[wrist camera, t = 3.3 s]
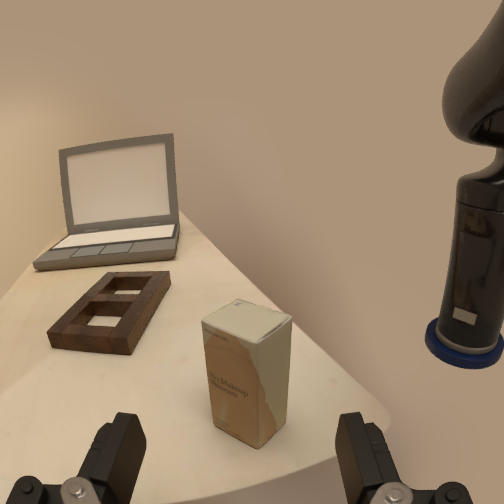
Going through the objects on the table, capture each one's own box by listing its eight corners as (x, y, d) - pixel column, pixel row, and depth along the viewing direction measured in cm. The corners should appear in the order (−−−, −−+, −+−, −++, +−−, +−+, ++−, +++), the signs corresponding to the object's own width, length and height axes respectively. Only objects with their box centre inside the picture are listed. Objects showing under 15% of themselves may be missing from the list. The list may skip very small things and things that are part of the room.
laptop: (34, 272, 63) (17, 151, 55) (70, 242, 88) (60, 149, 80) (175, 260, 69) (165, 125, 60) (180, 231, 94) (173, 133, 85)
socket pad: (171, 284, 56) (169, 270, 56) (131, 355, 36) (126, 337, 35) (110, 284, 57) (107, 272, 56) (51, 347, 36) (46, 331, 35)
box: (212, 424, 25) (195, 317, 22) (243, 399, 29) (236, 295, 25) (260, 452, 22) (256, 342, 19) (290, 421, 26) (294, 313, 22)
